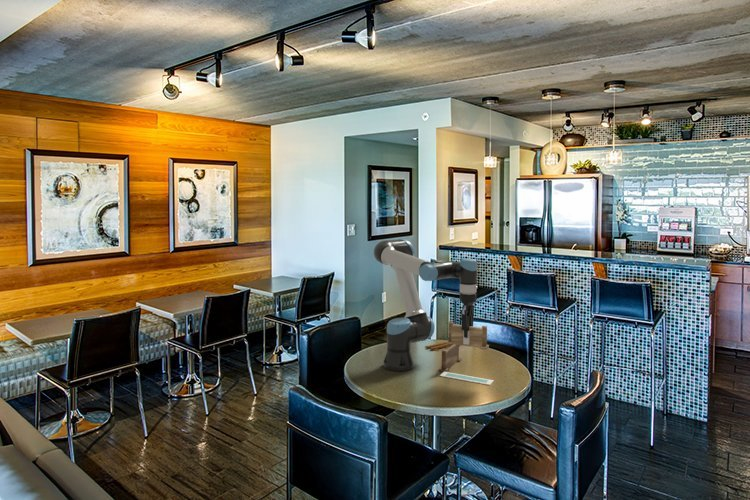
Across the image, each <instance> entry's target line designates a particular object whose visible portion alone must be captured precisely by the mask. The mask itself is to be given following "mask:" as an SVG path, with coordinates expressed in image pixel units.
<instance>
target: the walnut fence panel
mask: <svg viewBox="0 0 750 500" xmlns="http://www.w3.org/2000/svg"><path fill="white" fill-rule="evenodd" d="M448 347H449V348H445V349H442V350H441V366H440V367H439V368H438V372H442V373H443V372H450V368H451V367H452V366H454V365H455V364H456V363H457V362H458V361H459V362H458V363H460V362H461V361H463V360H462V359H463V358H461V357H460V346H459V345H456V344H453V345H451V346H448Z"/></svg>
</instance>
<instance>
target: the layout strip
mask: <svg viewBox="0 0 750 500" xmlns="http://www.w3.org/2000/svg"><path fill="white" fill-rule="evenodd" d="M439 377H443V378H448V379H453V380H460V381H464V382H470V383H475V384H481V385H486V386H491V385H492V384H493V383H494V379H487V378H483V377H476V376H471V375H466V374H461V373H455V372H450V371H448V372H442V373H440V374H439Z"/></svg>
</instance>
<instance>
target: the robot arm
mask: <svg viewBox="0 0 750 500" xmlns="http://www.w3.org/2000/svg"><path fill="white" fill-rule="evenodd" d="M414 254H415V248H414V245H413V244H412V243H411V242H410V241H409V240H408V239H403V238H402V239H401V238H400V239H399V238H398V239H389V240H387V239H386V240H381V241H379V242H378V243H377V244H376V245H375V246H374V248H373V257H374V259H375V260H376V261H377V262H379V263H380V264H382V265H385V266H390V267H391V268H392V269H394V272H395V275H396V280H397V283H398V288H399V292H400V294H401V298H402V302H403V306H404V311H405V315H404V317H395V318H392V319H390V320H389V321H388V322H387V324H386V352H385V355H384V358H383V362H382V363H383V366H382V367H383V368H384V369H386V370H388V371H392V372H406V371H410V370H413V369H414V365H415V363H414V361H415V360H414V359H413V356H412V351H411V344H414V343H415V344H416V343H420V342H423V341H426V340H429V339H431V338H432V337H433V335H434V333H435V330H436V329H435V323H434V321H433V319H432V317H430V316H429V315H427V312H426V311H425V310H423V307H422V303H421V299H420V296H419V293H418V288H417V284H416V280H415V277H414V274H415V275H417V276H419V277H420V279H421V280H422V281H424V282H432V281H439V280H445V279H459V292H460V293H459V301H460V302H461V303H462V306H461V307H462V308H461V309H460V314H461V315H460V317H461V325H462V329H461V330H463V344H467V345H469V339H470V330H469V326H473V327H474V317H475V308H476V306H475V305H474V304H473V303H476V302H477V289H478V286H477V283H478V281H477V280H478V277H477V276H478V263H477V260H476V259H473V258H462V259H460V261H459V262H458V261H452V260H444V261H441V262H436V263H435V262H431V261H428V260H425V259H421V258H419V257H416V256H415V255H414Z"/></svg>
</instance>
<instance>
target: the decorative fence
mask: <svg viewBox="0 0 750 500" xmlns="http://www.w3.org/2000/svg"><path fill="white" fill-rule="evenodd" d="M452 345H453V344H452ZM452 345H451V344H446V341H443V342H439V343H434V344H429V345H425V346H424V348H426V349H429V350H431V351H435V352H439V351H440V350H439V349H442V348H445V349H448V348H449V347H450V346H452ZM461 346H462V345H459V347H461Z"/></svg>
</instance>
